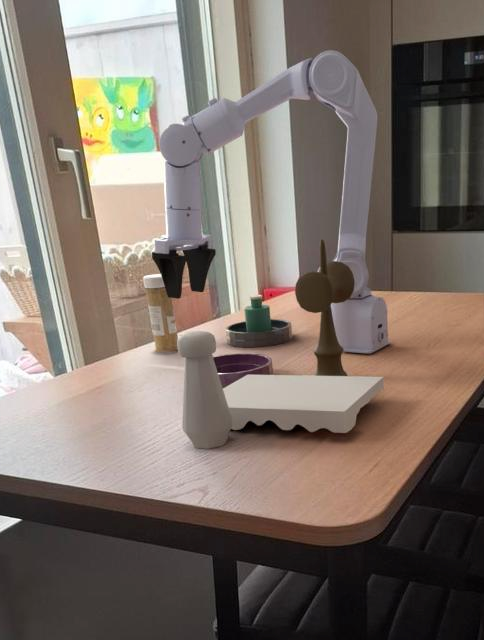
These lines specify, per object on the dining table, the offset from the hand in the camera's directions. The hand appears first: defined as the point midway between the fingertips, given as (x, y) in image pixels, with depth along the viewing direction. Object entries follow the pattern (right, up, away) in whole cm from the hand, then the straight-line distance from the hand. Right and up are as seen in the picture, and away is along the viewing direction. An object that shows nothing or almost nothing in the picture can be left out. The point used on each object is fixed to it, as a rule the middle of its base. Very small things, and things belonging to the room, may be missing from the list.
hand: (186, 294), depth 119 cm
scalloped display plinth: (+20, -24, -28) cm, 42 cm away
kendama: (+25, -17, -15) cm, 34 cm away
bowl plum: (+10, -17, -13) cm, 23 cm away
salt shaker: (+10, -27, -36) cm, 46 cm away
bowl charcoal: (+11, -6, +12) cm, 17 cm away
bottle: (+11, -5, +12) cm, 17 cm away
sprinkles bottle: (-5, -8, +9) cm, 13 cm away
